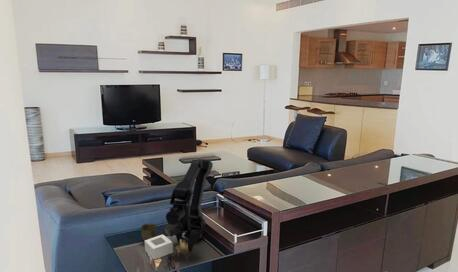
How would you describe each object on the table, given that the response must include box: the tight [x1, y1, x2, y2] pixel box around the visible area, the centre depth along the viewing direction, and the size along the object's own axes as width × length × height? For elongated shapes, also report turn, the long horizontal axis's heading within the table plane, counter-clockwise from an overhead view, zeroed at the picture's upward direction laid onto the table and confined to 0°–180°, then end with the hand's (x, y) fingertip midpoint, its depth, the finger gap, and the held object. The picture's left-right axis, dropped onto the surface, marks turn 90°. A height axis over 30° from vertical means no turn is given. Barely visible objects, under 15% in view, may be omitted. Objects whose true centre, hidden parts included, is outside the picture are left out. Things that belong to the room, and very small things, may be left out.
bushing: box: [179, 236, 190, 255], centre depth 147 cm, size 4×4×6 cm
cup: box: [139, 222, 158, 241], centre depth 155 cm, size 8×7×8 cm
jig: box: [143, 234, 174, 260], centre depth 147 cm, size 9×9×5 cm
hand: (184, 247), depth 147 cm, fingers open, 9 cm apart
